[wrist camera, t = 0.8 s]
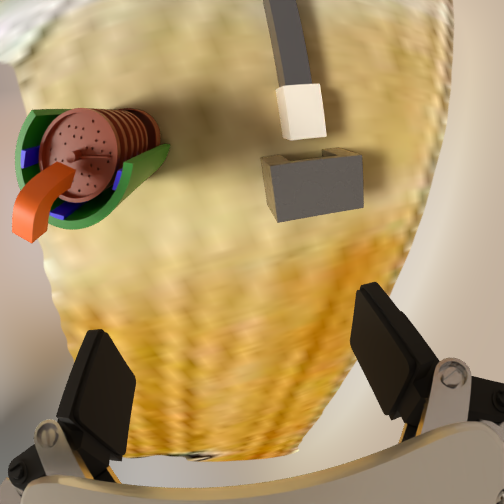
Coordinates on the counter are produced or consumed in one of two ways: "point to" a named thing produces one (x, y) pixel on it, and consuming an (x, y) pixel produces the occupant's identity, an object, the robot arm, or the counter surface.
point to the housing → (313, 184)
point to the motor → (81, 165)
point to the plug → (294, 74)
